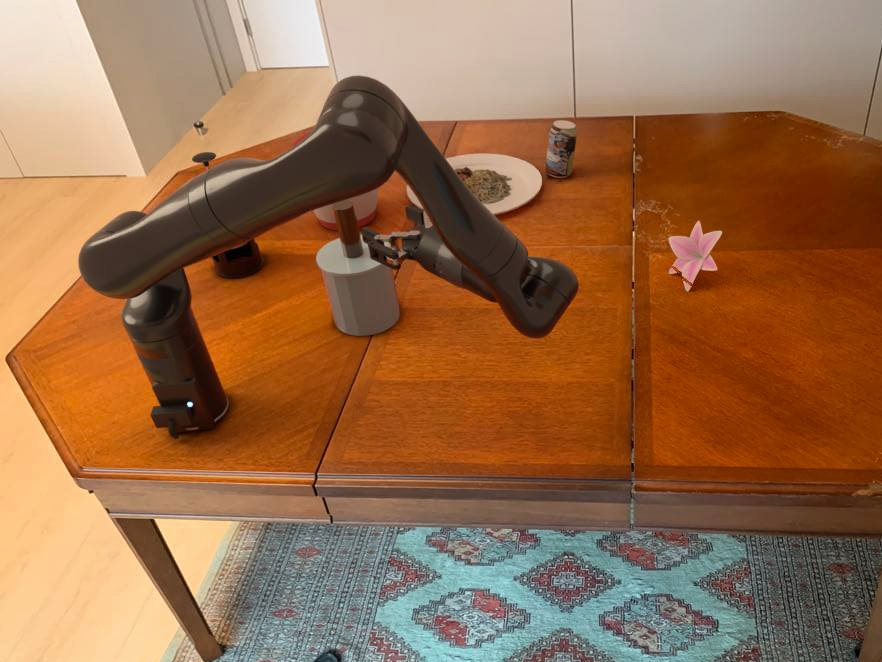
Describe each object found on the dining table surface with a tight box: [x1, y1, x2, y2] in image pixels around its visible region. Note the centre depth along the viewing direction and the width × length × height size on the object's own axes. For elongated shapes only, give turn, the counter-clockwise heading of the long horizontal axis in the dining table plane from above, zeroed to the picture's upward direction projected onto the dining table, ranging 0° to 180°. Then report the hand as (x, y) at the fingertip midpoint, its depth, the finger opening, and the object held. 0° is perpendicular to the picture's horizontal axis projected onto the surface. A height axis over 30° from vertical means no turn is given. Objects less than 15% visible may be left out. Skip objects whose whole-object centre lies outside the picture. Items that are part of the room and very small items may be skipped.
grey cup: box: [320, 265, 401, 337], centre depth 141 cm, size 12×12×12 cm
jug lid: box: [315, 200, 391, 276], centre depth 134 cm, size 13×13×10 cm
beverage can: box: [544, 119, 578, 179], centre depth 180 cm, size 6×7×12 cm
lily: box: [668, 220, 723, 292], centre depth 149 cm, size 12×12×10 cm
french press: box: [191, 151, 265, 280], centre depth 152 cm, size 12×9×23 cm
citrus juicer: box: [291, 131, 379, 231], centre depth 165 cm, size 16×17×20 cm
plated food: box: [406, 152, 543, 216], centre depth 178 cm, size 30×30×3 cm
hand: (386, 222), depth 124 cm, fingers open, 8 cm apart
